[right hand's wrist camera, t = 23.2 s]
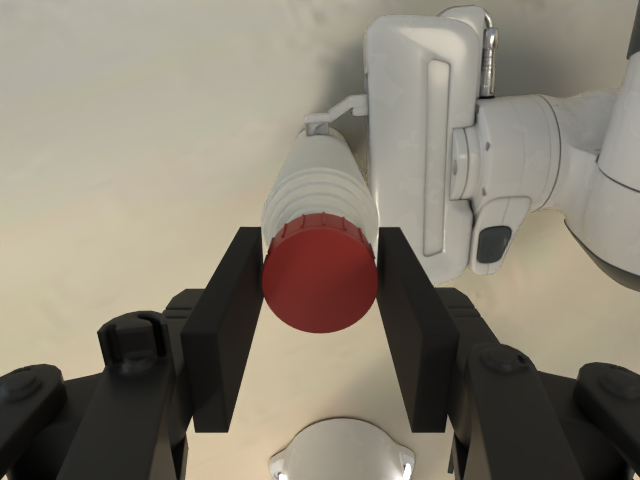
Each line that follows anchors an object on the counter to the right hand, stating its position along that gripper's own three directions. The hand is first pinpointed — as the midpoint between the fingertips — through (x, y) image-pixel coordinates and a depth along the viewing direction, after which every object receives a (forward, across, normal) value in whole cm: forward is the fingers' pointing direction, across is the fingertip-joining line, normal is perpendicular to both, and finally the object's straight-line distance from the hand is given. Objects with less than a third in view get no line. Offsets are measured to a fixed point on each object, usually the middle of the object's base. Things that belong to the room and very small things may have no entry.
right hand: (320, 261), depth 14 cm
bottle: (+24, 0, 0) cm, 24 cm away
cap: (-1, 0, 0) cm, 1 cm away
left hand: (+17, -1, 0) cm, 17 cm away
